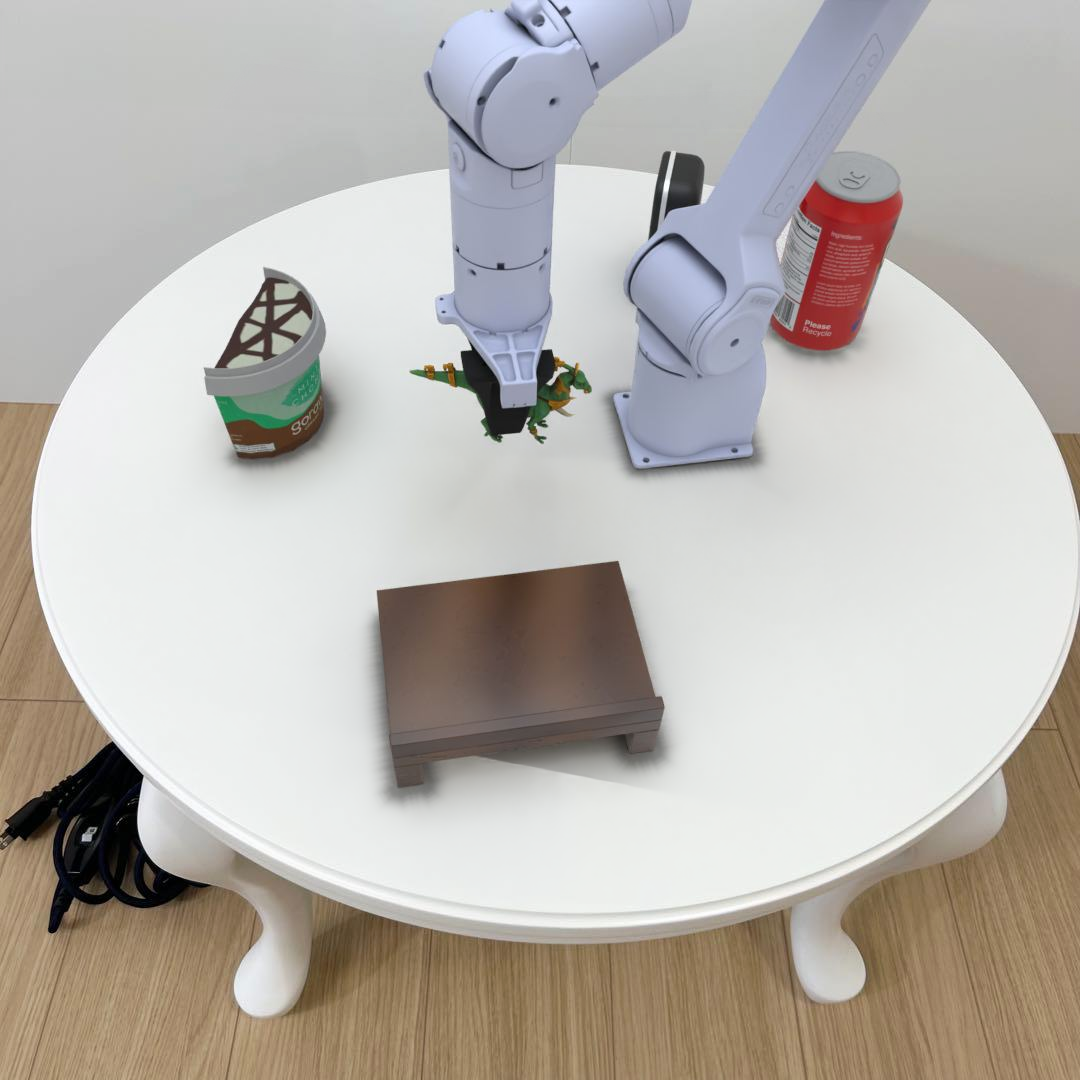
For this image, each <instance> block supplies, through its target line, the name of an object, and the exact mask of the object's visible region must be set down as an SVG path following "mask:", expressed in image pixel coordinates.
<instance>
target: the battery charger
mask: <svg viewBox="0 0 1080 1080" xmlns="http://www.w3.org/2000/svg"><path fill="white" fill-rule="evenodd" d="M705 168H706V167H705V163H704V160H703V159H702V158H701V157H700V156H698V155H697V154H692V153H685V152H678V151H677V150H670V151H669V150H665V151H663V153H662V155H661V160H660V164H659V168H658V172H657V176H656V177H657V178H656V181H655V186H654V187H655V188H654V193H653V198H652V199H653V200H652V208H651V214H650V223H649V230H648V238H647V241H648V240H649V239H650V238H651V237H652V236H653V235H654V234H655V233H656V232H657V230H658V229H659V228H660V226H661V225H662V223H663V221H664V220H665V218H666V216H667V214H668V213H669V212H670V211H672V210H674V209H679V208H684V207H690V206H695V205H700V204H702V197H703V190H704V180H705Z"/></svg>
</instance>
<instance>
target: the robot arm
mask: <svg viewBox="0 0 1080 1080" xmlns="http://www.w3.org/2000/svg"><path fill="white" fill-rule="evenodd" d="M931 2H932V0H824V1H823V2H822V4H821V6H820V7H819V9H818V10H817V12H816V14H815V16H814V17H813V19H812V21H811V23H810V24H809V26H808V27H807V29H806V31H805V33H804V34H803V37H802V38H801V39H800V41H799V43H798V45H797V46H796V48H795V50H794V51H793V53H792V55H791V57H790V59H789V60H788V62H787V64H786V65H785V67H784V68H783V70H782V72H781V73H780V75H779V77H778V78H777V81H776V82H775V84H774V85H773V87H772V89H771V91H770V92H769V94H768V96H767V98H766V99H765V101H764V102H763V104H762V106H761V108H760V109H759V111H758V112H757V114H756V117H755V118H754V120H753V121H752V122H751V125H750V126H749V128H748V129H747V131H746V133H745V135H744V136H743V137H742V140H741V142H740V143H739V144H738V147H737V148H736V150H735V152H734V153H733V155H732V157H731V158H730V160H729V162H728V163H727V165H726V167H725V169H724V171H723V172H722V174H721V175H720V177H719V179H718V181H717V182H716V184H715V186H714V188H713V189H712V191H711V192H710V195H709V196H708V198H707V199H706V201H705V202H704V203H701V204H700V205H695V206H690V207H684V208H679V209H674V210H672V211H670V212H669V213H668V214H667V216H666V218H665V220H664V221H663V223H662V225H661V226H660V228H659V229H658V230H657V232H656V233H655V234H654V235H653V236H652V237H651V238H650V239H649V240H648V239H647V241H646V242H645V243H643V244H642V245H641V246H640V248H638V250H637V251H636V252H635V253H634V255H633V256H632V258H631V259H630V261H629V263H628V264H627V267H626V269H625V271H624V276H623V282H622V287H623V288H622V289H623V292H624V296H625V297H626V300H628V301H629V302H630V303H631V304H632V305H633V306H635V307H636V313H635V323H636V325H637V327H638V336H637V343H636V350H635V357H634V367H633V374H632V381H631V388H630V391H623V392H616V393H615V394H614V395H613V398H612V399H613V400H612V401H613V404H614V408H615V410H616V414H617V417H618V420H619V424H620V427H621V430H622V434H623V436H624V440H625V443H626V447H627V450H628V453H629V456H630V458H631V462H632V466H633V467H634V468H635V469H638V470H639V469H640V470H641V469H650V468H651V469H652V468H658V467H667V466H669V467H670V466H676V465H686V464H687V465H688V464H695V463H705V462H713V461H723V460H731V459H741V458H748V457H751V456H752V455H753V453H754V447H753V445H752V439H753V436H754V432H755V428H756V425H757V421H758V417H759V414H760V410H761V407H762V403H763V399H764V396H765V391H766V385H767V358H766V354H765V349H764V344H763V342H764V340H765V338H766V335H767V332H768V329H769V325H770V324H771V323H770V319H771V316H772V314H773V311H774V309H775V308H776V306H777V304H778V303H779V301H780V300H781V298H782V297H783V295H784V294H785V285H784V280H783V276H782V271H781V267H780V263H781V261H780V259H779V253H778V248H777V241H778V239H779V238H780V236H781V235H782V233H783V231H785V228H786V227H787V225H788V224H789V222H791V220H792V216H793V214H794V213H795V211H796V210H797V208H798V207H799V205H800V204H801V202H802V200H803V199H804V197H805V196H806V194H807V193H808V191H809V190H810V188H811V186H812V185H813V183H814V182H815V180H816V179H817V177H818V176H819V174H820V172H821V171H822V169H823V168H824V166H825V165H826V163H827V162H828V160H829V158H830V157H831V155H832V154H833V153H834V152H836V149H837V147H838V146H839V145H840V143H841V142H842V140H843V138H844V137H845V135H846V134H847V132H848V130H849V129H850V127H851V126H852V125H853V124H854V123H853V122H854V121H855V120H856V118H857V117H858V115H859V113H860V112H861V111H862V108H863V107H864V105H865V104H866V102H867V101H868V99H869V98H870V96H871V95H872V93H873V92H874V90H875V88H876V87H877V85H878V84H879V82H880V81H881V80H882V78H883V76H884V75H885V73H886V71H888V68H889V67H890V65H891V64H892V62H893V61H894V59H895V57H896V56H897V55H898V53H899V51H900V49H901V48H902V46H903V45H904V44H905V42H906V40H907V39H908V37H909V36H910V34H911V33H912V31H913V30H914V28H915V26H916V25H917V23H918V21H919V20H920V18H921V17H922V15H923V14H924V12H925V11H926V9H927V8H928V6H929V5H930V3H931ZM692 3H693V0H511V1H510V5H507V7H506V8H505V9H504V10H502V9H498V8H490V9H489V12H487V11H486V10H485V9H484V8H483V9H478V10H476V11H473V12H470V13H468V14H466V15H464V16H462V17H461V18H459V19H458V20H456V21H455V22H454V23H453V24H451V25H450V26H449V27H448V28H447V30H446V31H445V32H444V33H443V35H442V36H441V38H440V40H439V42H438V44H437V46H436V49H435V52H434V56H433V60H432V64H431V67H430V68H427V69H425V70H424V72H423V81H424V85H425V89H426V92H427V94H428V96H429V97H430V99H431V101H432V102H433V103H434V105H435V106H436V107H437V108H438V109H439V110H440V111H441V112H442V113H443V114H444V115H445V118H446V121H447V138H448V139H447V142H448V170H449V171H448V174H449V193H450V194H449V195H450V197H449V198H450V218H451V238H452V239H451V240H452V241H451V242H452V243H451V245H452V265H453V266H452V267H453V287H454V290H453V291H452V292H451V293H446V294H440V295H437V296H436V297H435V300H434V305H435V306H434V307H435V313H436V319H437V321H438V323H439V324H441V325H446V326H447V325H455V326H457V327H458V328H459V329H460V330H461V332H462V334H463V335H464V336H465V337H466V338H467V341H468V344H469V346H470V349H469V350H460V360H461V367H462V371H463V373H464V376H465V378H466V380H467V382H468V384H469V386H470V387H471V388H473V389H474V391H475V392H476V393H477V394H478V396H479V398H480V400H481V402H482V405H483V408H482V410H483V409H484V410H483V413H484V418H486V422H487V425H488V428H489V430H490V432H491V434H492V435H493V436H494V435H501V436H503V435H514V434H521V433H522V432H523V430H524V428H525V425H526V423H527V420H528V418H527V417H528V415H529V412H530V409H531V406H534V405H536V398H537V394H538V393H539V391H540V390H541V389H542V388H543V386H544V385H545V384H548V383H549V382H550V381H551V380H552V379H553V378H554V376H555V372H556V371H555V360H554V357H555V356H554V351H553V349H552V348H549V349H543V348H544V343H545V340H546V336H547V333H548V329H549V326H550V322H551V319H552V317H553V297H552V294H551V273H552V272H551V271H552V255H553V253H552V252H553V226H554V223H553V222H554V207H555V206H554V205H555V203H554V202H555V186H556V185H555V182H556V163H557V155H558V154H559V153H561V151H562V150H563V149H564V148H565V147H566V146H567V144H568V143H569V141H570V140H571V139H572V138H573V136H574V134H575V132H576V130H577V129H578V126H579V124H580V121H581V119H582V118H583V116H584V115H585V113H586V112H587V111H588V110H589V109H590V108H592V107H593V106H594V105H595V103H594V101H595V100H597V99H598V98H599V91H601V90H602V89H603V88H605V87H606V86H607V85H608V84H610V83H611V82H613V81H614V80H616V79H617V78H618V77H619V76H621V75H622V74H624V73H626V71H628V70H629V69H631V68H632V67H634V66H635V65H637V64H638V63H639V62H641V61H642V60H643V59H645V58H646V57H647V56H649V55H650V54H652V53H653V52H655V50H657V49H659V48H660V47H661V46H663V45H664V44H665V43H667V42H669V41H670V40H671V39H672V38H674V37H675V36H676V35H678V34H679V33H681V32H682V31H683V30H684V29H685V26H686V24H687V21H688V18H689V14H690V10H691V6H692Z"/></svg>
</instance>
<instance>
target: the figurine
mask: <svg viewBox="0 0 1080 1080" xmlns="http://www.w3.org/2000/svg"><path fill="white" fill-rule="evenodd" d="M560 359H561V358H560V357H558V356H554V360H555V372H558V371H559V368H564V369H566V370H567V371H563V372H560V373H559V374H558V375H557V376H556V377H555V380H554V381H553V382H552V383H551V384H548V383H546V384H545V385H544V386H543V388H542V389H541V390H540V391H539V393H538V394H537V398H536V405H534V406H531V409H530V412H529V415H528V417H527V419H528V421H526V423H525V425H527V430H528V432H529V434H531V435H532V436H534V440H536V441H537V442H539V444H542V445H544V444H545V442H544V441H546V440H547V439H548V437H547V436H545V435H539V434H538V428H537V426H538V427H540V428H543V429H547V428H549V424H547V420H546V419H545V418H547V417H548V416H549V415H550V413H551V412H554V411H555V412H556V413H559V414H560V415H562V416H564V417H567V418H568V417H574V416H575V415H576V413H575V414H573V413H569V412H567V410H565V409H564V408H563V407H566V406H567V405H568V404H569V403H570V402H571V401H572V400H575V399H577V397H575V396H571V395H570V394H571V391H572V389H571V387H573V388H574V389H575V390H579V391H580V390H582V391H583V394H585V395H586V394H587V395H588V394H591V393H592V391H593V388H592V386H591V384H590V382H589V380H588V379H587V377H586V374H585V373H584V371H582V370H581V369H580V368H579V367H580V363H579V362H576V363H575V364H574V367H573V366H572V365H569V364H567V362H566V361H564V360H560ZM442 369H443V370H436V369H435V365H432V364H428V365H426V364H424V365H423V369H411V370H409V374H411V375H414V376H417V377H421V378H424V379H427V380H430V381H432V382H433V381H436V382H440V383H444V384H447V385H449V386H450V387H452V388H455V389H456V388H461V389H465V390H468V391H469V392H471V393H473V394H475V396H476V398H477V401H478V404H479V405H480V407H481V408H482V410H483V411H484V409H483V405H482V402H481V400H480V398H479V396H478V394H477V393H476V392H475V391H474V389H473V388H471V387H470V386H469V384H468V382H467V380H466V378H465V376H464V373H463V370H460V369H456V366H454V363H453V362H447V363H443V364H442ZM480 423H481V425H482V426H483V428H484V430H485V431H486V432H485V433H484V434H483V437H490V438H491V440H493V441H494V442H497V443H498V444H501V443H502V442H503V441H502V439H504V436H503V435H494V436H493V435H492V434H491V432H490V430H489V428H488V425H487V422H486V418H485V417H484V418H482V419H481V420H480Z"/></svg>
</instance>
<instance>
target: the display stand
mask: <svg viewBox="0 0 1080 1080" xmlns="http://www.w3.org/2000/svg"><path fill="white" fill-rule="evenodd" d="M376 599H377V600H376V602H377V609H378V610H377V611H378V621H379V631H380V642H381V643H380V644H381V654H382V665H383V673H384V674H383V675H384V687H385V694H386V695H385V696H386V705H387V707H386V708H387V717H388V726H389V727H388V728H389V735H388V740H389V747H390V752H391V753H390V754H391V758H392V764H393V765H392V766H393V770H394V776H395V780H396V787H397V788H398V789H399V788H407V787H414V786H420V785H424V784H425V780H424V770H423V764H426V763H433V762H439V761H448V760H453V759H455V760H456V759H462V758H468V757H474V756H482V755H489V754H495V753H503V752H510V751H517V750H524V749H531V748H538V747H545V746H551V745H558V744H563V743H571V742H579V741H586V740H592V739H600V738H607V737H613V736H614V737H615V736H620V735H624V737H625V741H626V744H627V745H626V746H627V749H628V752H629V754H637V753H644V752H650V751H655V747H656V743H657V740H658V736H659V732H660V728H661V725H662V719H663V716H664V712H665V709H666V707H665V702H664V699H663V696H662V695H659V696H656V693H655V689H654V686H653V682H652V678H651V675H650V671H649V667H648V664H647V661H646V657H645V656H646V655H645V653H644V650H643V645H642V642H641V637H640V634H639V631H638V627H637V624H636V623H637V622H636V620H635V616H634V613H633V609H632V608H633V607H632V605H631V602H630V598H629V594H628V591H627V587H626V583H625V579H624V576H623V572H622V569H621V565H620V561H619V560H613V561H604V562H597V563H588V564H579V565H573V566H572V565H571V566H565V567H564V566H563V567H558V568H548V569H541V570H540V569H539V570H532V571H531V570H530V571H523V572H515V573H507V574H499V575H491V576H483V577H474V578H466V579H465V578H464V579H458V580H457V579H456V580H449V581H441V582H434V583H427V584H426V583H425V584H416V585H409V586H400V587H393V588H392V587H391V588H384V589H378V590H377V589H376Z"/></svg>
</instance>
